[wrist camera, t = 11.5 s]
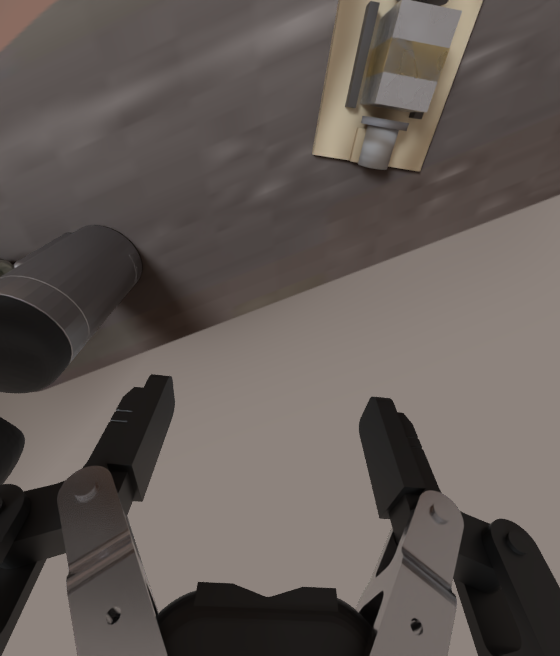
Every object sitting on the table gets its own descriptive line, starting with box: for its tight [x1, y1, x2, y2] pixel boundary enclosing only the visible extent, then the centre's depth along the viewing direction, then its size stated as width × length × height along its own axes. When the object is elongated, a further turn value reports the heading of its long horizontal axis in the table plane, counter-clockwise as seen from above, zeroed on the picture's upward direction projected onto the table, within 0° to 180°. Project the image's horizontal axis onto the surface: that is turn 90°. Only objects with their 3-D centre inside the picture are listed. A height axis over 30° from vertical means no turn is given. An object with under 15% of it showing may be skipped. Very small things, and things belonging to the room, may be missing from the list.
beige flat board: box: [312, 0, 483, 171], centre depth 27 cm, size 12×16×6 cm
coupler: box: [360, 0, 462, 112], centre depth 26 cm, size 6×5×6 cm
